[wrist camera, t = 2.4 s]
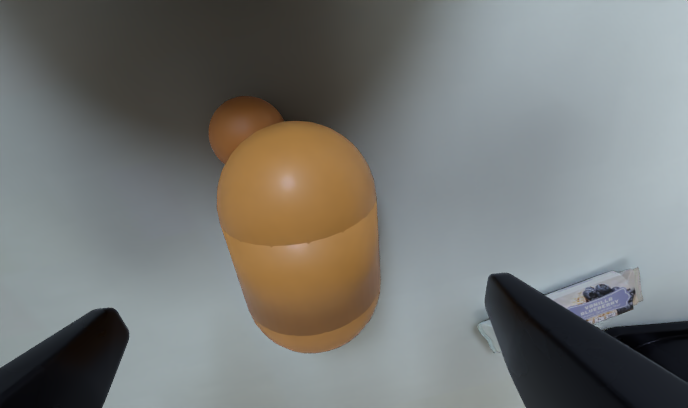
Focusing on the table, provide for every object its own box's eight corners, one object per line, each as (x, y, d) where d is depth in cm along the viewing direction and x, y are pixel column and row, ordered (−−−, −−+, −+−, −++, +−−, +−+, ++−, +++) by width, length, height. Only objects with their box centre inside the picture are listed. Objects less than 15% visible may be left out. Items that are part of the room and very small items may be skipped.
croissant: (363, 78, 10) (382, 108, 6) (376, 290, 14) (392, 391, 10) (214, 93, 10) (134, 134, 6) (270, 299, 14) (246, 403, 10)
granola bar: (486, 344, 15) (495, 364, 14) (471, 315, 14) (480, 334, 13) (634, 293, 14) (655, 311, 13) (629, 256, 13) (651, 273, 12)
